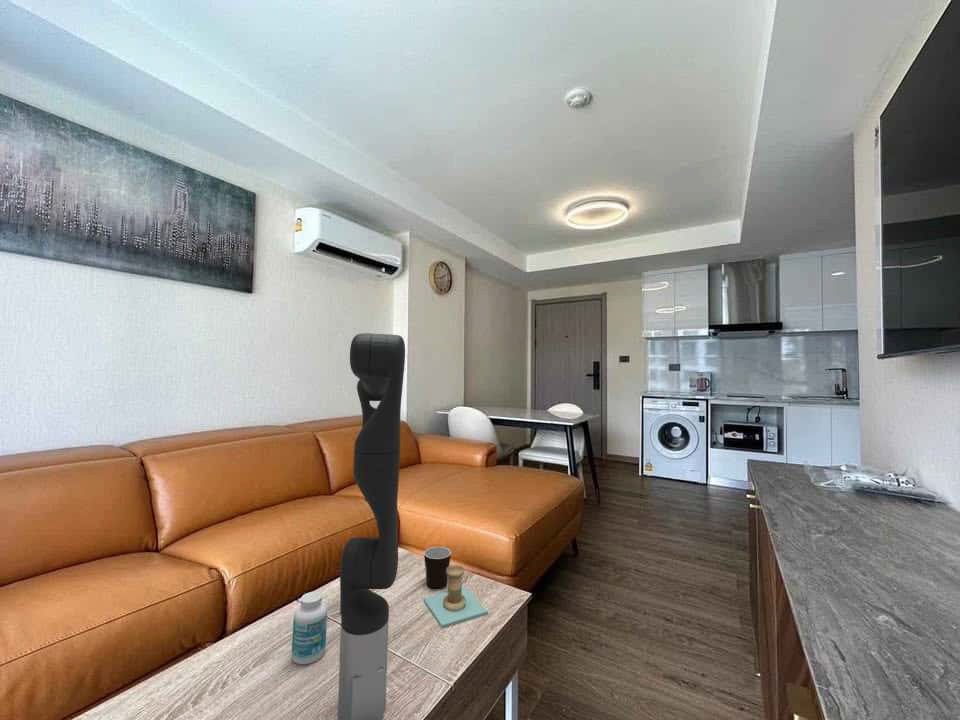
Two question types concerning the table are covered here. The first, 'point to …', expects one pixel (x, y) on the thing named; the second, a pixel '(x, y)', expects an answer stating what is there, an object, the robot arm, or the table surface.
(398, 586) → the table surface
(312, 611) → the pill bottle
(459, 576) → the tan chess pawn
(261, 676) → the table surface
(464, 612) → the mat
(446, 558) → the coffee mug
